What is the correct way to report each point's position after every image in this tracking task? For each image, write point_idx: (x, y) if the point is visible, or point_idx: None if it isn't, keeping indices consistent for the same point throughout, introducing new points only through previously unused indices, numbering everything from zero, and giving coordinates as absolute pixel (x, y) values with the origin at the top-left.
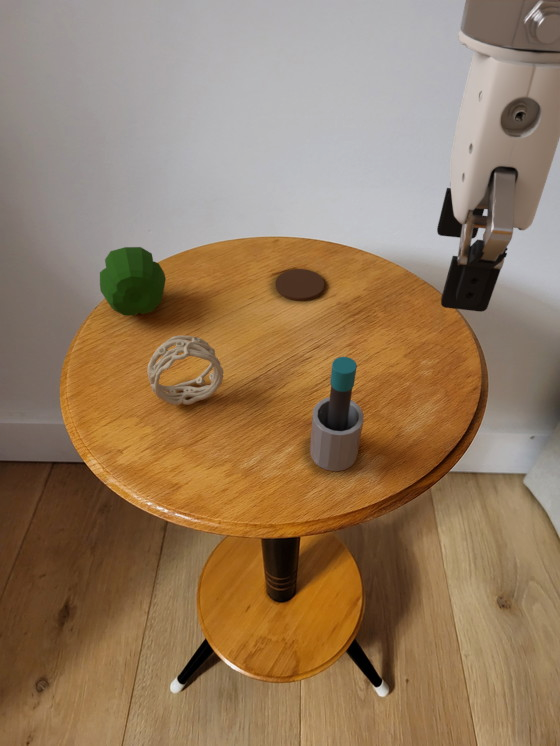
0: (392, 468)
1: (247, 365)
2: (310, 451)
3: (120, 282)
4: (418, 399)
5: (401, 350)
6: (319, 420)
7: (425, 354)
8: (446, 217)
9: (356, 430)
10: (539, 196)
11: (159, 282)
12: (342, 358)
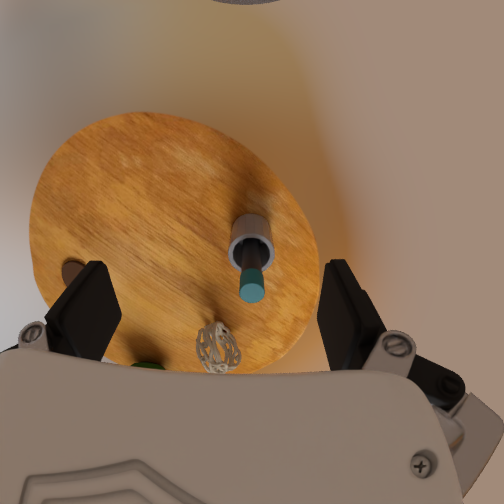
0: (259, 183)
1: (177, 302)
2: None
3: None
4: (173, 165)
5: (116, 186)
6: None
7: (114, 164)
8: (108, 335)
9: (266, 238)
10: (455, 474)
11: None
12: (242, 295)
